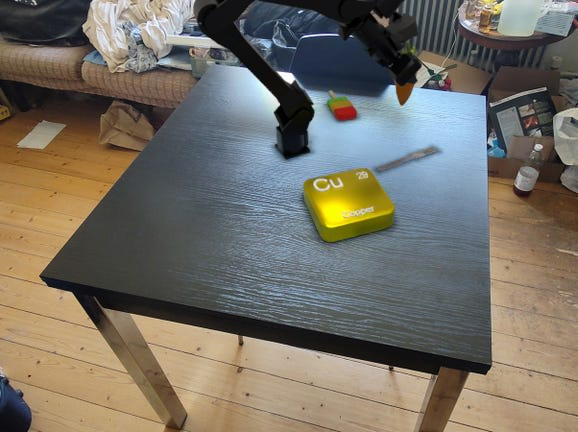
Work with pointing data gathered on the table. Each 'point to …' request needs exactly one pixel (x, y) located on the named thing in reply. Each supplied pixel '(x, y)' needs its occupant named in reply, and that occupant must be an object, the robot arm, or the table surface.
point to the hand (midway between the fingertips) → (410, 77)
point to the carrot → (406, 90)
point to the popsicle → (341, 107)
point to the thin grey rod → (408, 158)
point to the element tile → (348, 204)
